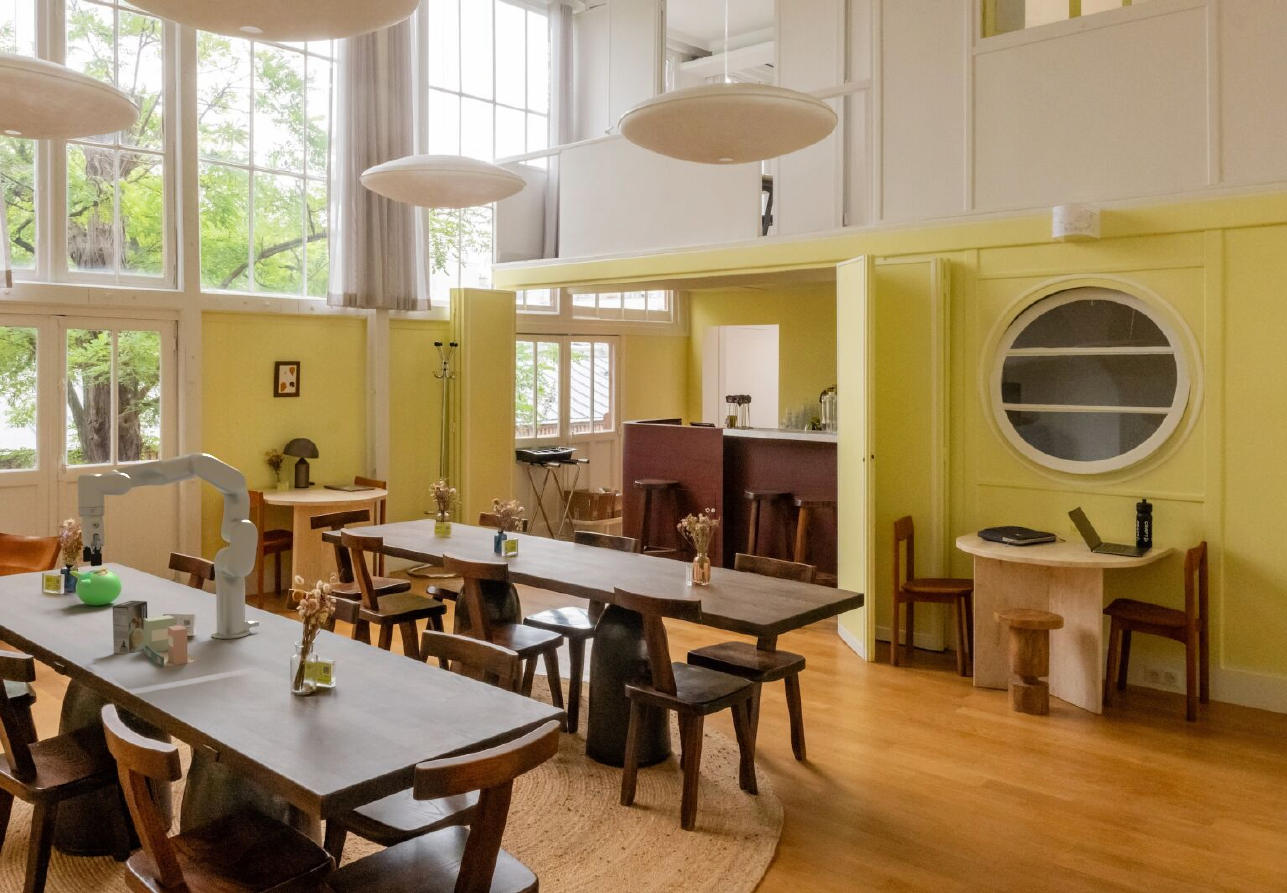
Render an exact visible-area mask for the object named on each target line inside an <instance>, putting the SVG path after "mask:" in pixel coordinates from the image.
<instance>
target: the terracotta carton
mask: <svg viewBox="0 0 1287 893" xmlns="http://www.w3.org/2000/svg"><path fill="white" fill-rule="evenodd" d="M167 651H168V661H169V662H171V663H172V664H174V665H173V666H177V664H178V665H183V663H184V664H189V663H188V654H189V653H188V628H187V627H185V626H184V625H182V624H179V625H174V626H171V627H168V650H167Z"/></svg>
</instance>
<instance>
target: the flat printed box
mask: <svg viewBox="0 0 1287 893" xmlns="http://www.w3.org/2000/svg"><path fill="white" fill-rule="evenodd" d="M144 655H145V656H146V657H147V658H149V659H150V660H151V661H153V662H154V663H156V664H157V665H159V666H160V667H162V668H164V667H165V668H167V667H172V666H175V665H174V664H172V663H171V662H169V661H168V650H165V651H159V652H156V651H154V650H153V649H151V648H150V647H148V646H147V645H146V646H145V651H144ZM199 661H200V660H199V659H198V658H195V657H194V656H193V655H191V654H189V653H188V663H187V664H189V663H194V662H199ZM183 664H185V663H183ZM183 664H182V665H183ZM177 665H179V664H177ZM177 665H176V666H177Z"/></svg>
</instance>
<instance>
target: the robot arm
mask: <svg viewBox="0 0 1287 893" xmlns="http://www.w3.org/2000/svg"><path fill="white" fill-rule="evenodd" d="M195 478H200V479H201V480H203V481H205V482H207V483H209V484H210V485H212V486H213V488H214V489H215V490H217V491H219V492H220V494H221V496H222V498H223V505H224V506H223V515H222V522H221V529H220V535H221V538H222V539H223V540H224V541H225V542H227V543H228V544H229V545H228V546H226V547H222V548H221V549H219V550H218V551H217V552H216V554H215V556H214V559H213V567H214V568H213V569H214V575H215V585H216V586H215V587H216V588H215V589H216V590H215V592H216V597H215V598H216V601H215V602H216V630H214V631H212V632H211V636H212V638H215V639H220V640H221V639H223V640H226V639H227V640H228V639H229V640H230V639H238V638H239V639H240V638H243V637H246V636H249V635H250V634H251V631H250V629H251V628H257V627H259V626H260V622H259V621H257V620H256V621H253V620H250V621H247V620H246V581H245V577H247V576H249V575H250V574H251V572H252V571H253V570H254V566H255V562H256V556H257V548H258V542H259V540H258V539H259V533H258V532H259V531H258V529H257V527H256V524H254V523H253V522H252V521H250V520H249V519H250V509H251V508H250V506H251V500H250V499H251V498H250V494H249V491H248V488H247V478H246V476H245V475H244V474H243V472H242V471H240V470H239V469H237V468H235V467H233V466H231V465H229V464H228V463H226V462H224V461H221V460H220V459H218V458H217V457H214V456H212V455H211V454H208V453H204V452H191V453H187V454H182V455H177V456H173V457H170V458H165V459H161V460H153V461H150V462H149V461H148V462H146V463H145V462H144V463H140V464H134V465H128V466H125V467H120V468H119V467H118V468H115V469H111V470H108V471H106V472H104V473H103V474H101V473H95V472H94V473H91V472H89V473H82V474H80V475H78V477H77V508H78V509H77V511H78V512H77V516H78V518H81V520H80V521H81V524H80V526H81V530H80V531H81V532H80V534H81V543H82V562H83V563H88V562H89V563H90V566H91V567H100V566H102V565H103V553H102V551H103V550H102V547H104V546H105V545H106V538H105V525H104V516H105V514H106V512H105V506H106V505H105V502H106V501H105V496H107V495H108V496H123V495H126V494H128V493H129V492H130V491H131V490H132V489H133V488H138V487H144V486H145V487H146V486H152V487H153V486H155V487H156V486H158V487H159V486H166V485H170V484H174V483H178V482H181V481H182V482H183V481H186V480H192V479H195Z"/></svg>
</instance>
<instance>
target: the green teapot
mask: <svg viewBox="0 0 1287 893" xmlns="http://www.w3.org/2000/svg"><path fill="white" fill-rule="evenodd" d="M107 569H108V567H104V568H100V569H96V570H90V571H88V572H86V573H84V572H80V571H77V570H70V571H69V573H70V574H71V575H72V576H73V577H75V578H76V579H77V582H76V583H75V593H76V596H77V597H78V599H79V600H80V601H81V602H83V603H84V604H87V605H88V606H89V605H90V606H103V605H108V604H110V603H112V602H114V601H115V600H117V599H118V598H119V596H120V595H121V592H122V582H121V580H120V577H118V575H116V574H115V573H114V572H112V571H110V570H107Z"/></svg>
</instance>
